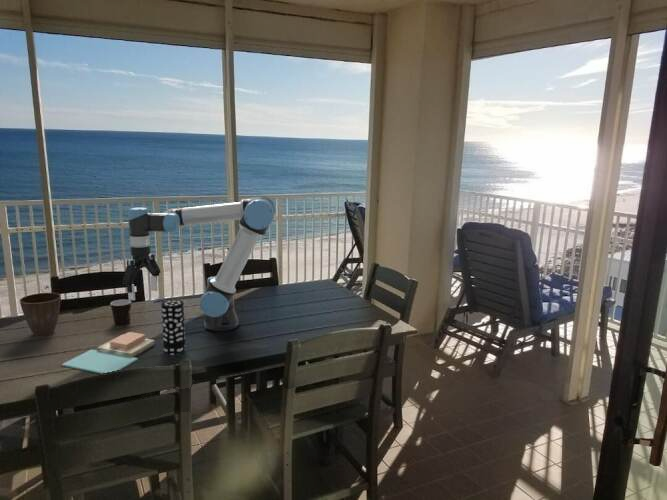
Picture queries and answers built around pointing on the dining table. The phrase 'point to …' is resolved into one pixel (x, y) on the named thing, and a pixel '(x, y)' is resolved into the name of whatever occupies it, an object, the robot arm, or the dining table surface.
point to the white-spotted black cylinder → (173, 327)
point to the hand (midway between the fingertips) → (143, 295)
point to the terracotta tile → (127, 340)
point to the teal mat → (99, 361)
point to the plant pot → (41, 312)
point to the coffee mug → (121, 312)
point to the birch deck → (127, 352)
